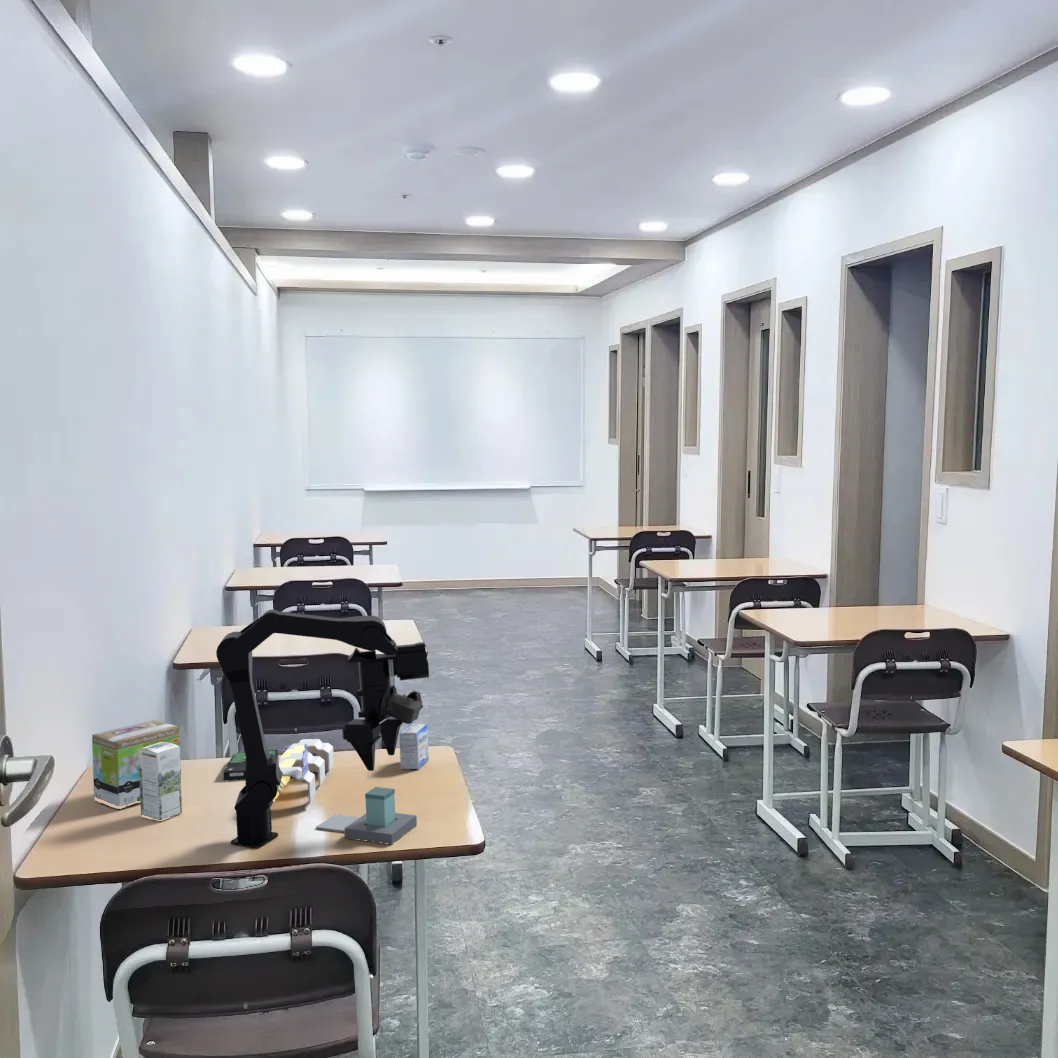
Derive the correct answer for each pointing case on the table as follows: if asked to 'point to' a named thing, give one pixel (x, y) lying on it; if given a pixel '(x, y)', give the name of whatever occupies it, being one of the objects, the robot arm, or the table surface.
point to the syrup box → (160, 780)
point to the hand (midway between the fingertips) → (381, 762)
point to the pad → (337, 823)
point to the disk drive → (239, 766)
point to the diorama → (306, 764)
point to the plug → (380, 807)
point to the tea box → (125, 759)
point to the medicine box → (413, 746)
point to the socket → (381, 829)
